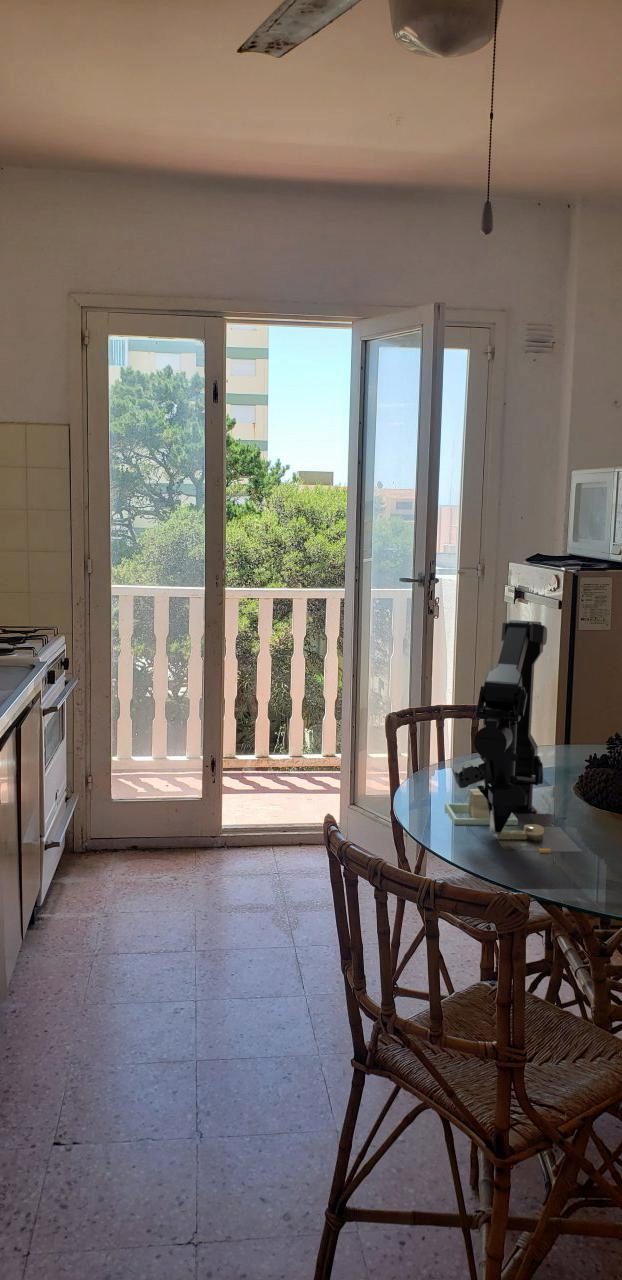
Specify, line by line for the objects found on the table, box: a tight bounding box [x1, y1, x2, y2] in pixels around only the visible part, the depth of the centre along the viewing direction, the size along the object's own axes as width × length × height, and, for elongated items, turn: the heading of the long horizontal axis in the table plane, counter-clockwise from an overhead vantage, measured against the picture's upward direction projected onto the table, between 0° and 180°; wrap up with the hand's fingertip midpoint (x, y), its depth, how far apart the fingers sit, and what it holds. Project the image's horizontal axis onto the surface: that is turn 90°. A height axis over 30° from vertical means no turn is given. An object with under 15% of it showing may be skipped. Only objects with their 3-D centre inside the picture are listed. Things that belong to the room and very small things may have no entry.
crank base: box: [487, 826, 583, 854], centre depth 183 cm, size 15×14×2 cm
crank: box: [489, 810, 545, 841], centre depth 183 cm, size 10×4×5 cm, turn 92°
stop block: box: [468, 788, 490, 818], centre depth 196 cm, size 4×4×6 cm
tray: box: [444, 803, 519, 826], centre depth 196 cm, size 10×12×2 cm
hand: (496, 829), depth 183 cm, fingers closed on crank, 2 cm apart
